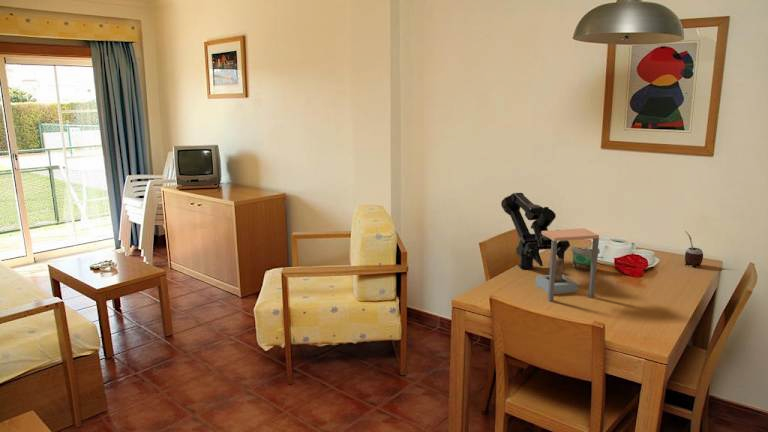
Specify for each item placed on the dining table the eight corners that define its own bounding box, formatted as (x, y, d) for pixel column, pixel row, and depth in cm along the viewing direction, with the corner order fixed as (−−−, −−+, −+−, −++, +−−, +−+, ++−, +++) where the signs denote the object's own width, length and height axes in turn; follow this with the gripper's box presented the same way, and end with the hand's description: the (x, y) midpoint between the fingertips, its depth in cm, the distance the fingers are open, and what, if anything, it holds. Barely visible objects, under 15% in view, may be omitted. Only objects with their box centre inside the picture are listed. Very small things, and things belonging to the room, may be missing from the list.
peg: (547, 287, 217) (549, 259, 214) (555, 285, 219) (556, 257, 216) (556, 290, 213) (558, 262, 210) (563, 288, 215) (565, 260, 213)
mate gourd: (702, 269, 236) (706, 236, 233) (682, 266, 240) (686, 234, 236) (700, 264, 243) (704, 232, 240) (681, 262, 246) (685, 231, 243)
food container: (567, 269, 238) (569, 248, 236) (569, 265, 243) (571, 244, 241) (597, 273, 232) (598, 251, 230) (598, 269, 238) (600, 248, 235)
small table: (528, 284, 220) (531, 225, 214) (569, 281, 223) (573, 223, 218) (550, 301, 202) (554, 238, 196) (594, 297, 205) (599, 235, 199)
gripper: (527, 224, 217) (538, 258, 209) (569, 221, 220) (581, 255, 213) (518, 237, 227) (528, 270, 219) (559, 234, 230) (570, 267, 222)
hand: (552, 265), depth 218 cm, fingers open, 9 cm apart
